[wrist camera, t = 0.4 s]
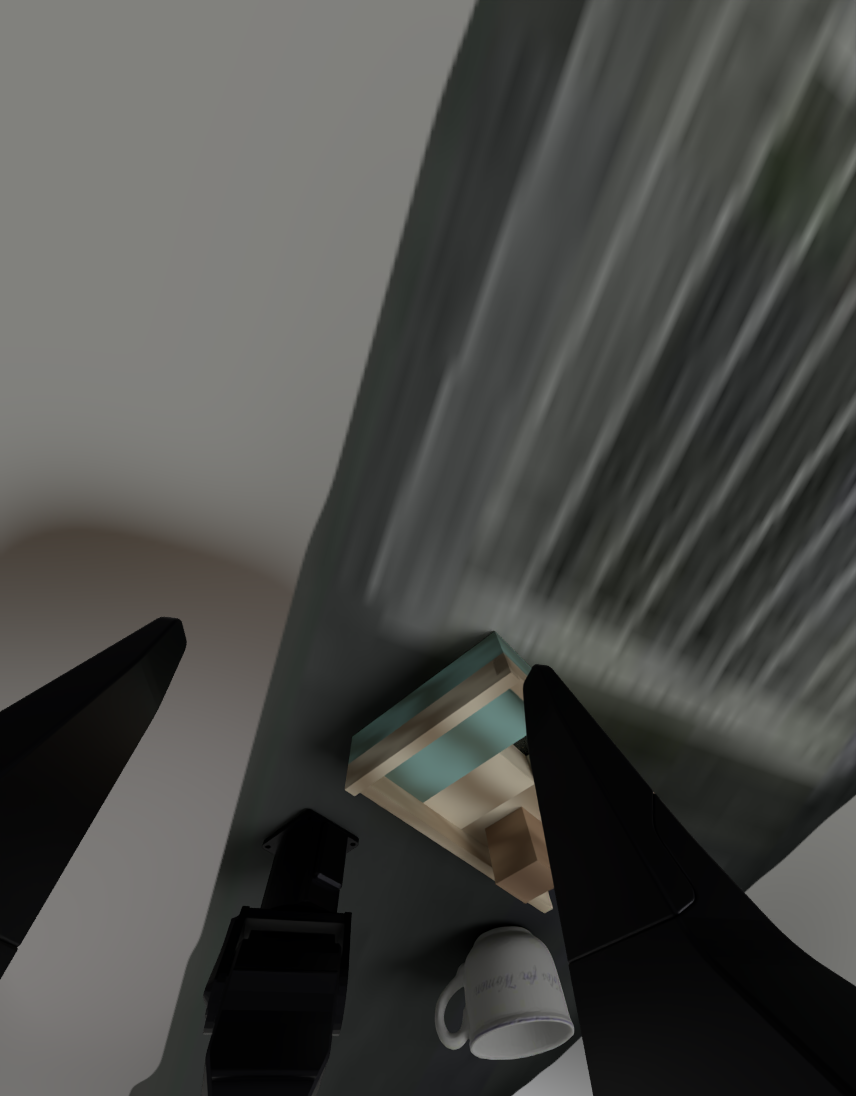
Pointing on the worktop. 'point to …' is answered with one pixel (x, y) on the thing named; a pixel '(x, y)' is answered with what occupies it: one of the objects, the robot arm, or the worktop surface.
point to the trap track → (453, 754)
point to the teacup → (507, 998)
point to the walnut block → (520, 855)
